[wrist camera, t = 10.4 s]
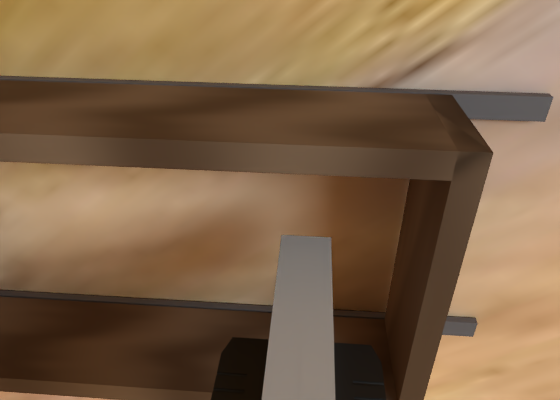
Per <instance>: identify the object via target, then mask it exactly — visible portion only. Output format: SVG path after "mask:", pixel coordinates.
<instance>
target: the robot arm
mask: <svg viewBox="0 0 560 400" xmlns="http://www.w3.org/2000/svg"><path fill="white" fill-rule="evenodd" d="M211 400H386V394H385V387H384V378H383V370H382V363H381V361H380V359H379V358H378V356H377V354H376V352H375V351H374V349H373V347H372V346H371V345H363V344H348V343H334V328H333V289H332V250H331V237H314V236H294V235H281V243H280V252H279V260H278V268H277V276H276V285H275V293H274V301H273V309H272V318H271V326H270V334H269V339H255V338H240V337H232V339H231V340H230V342H229V343H228V344H227V346H226V347H225V348H224V350H223V351H222V353H221V356H220V361H219V365H218V370H217V376H216V379H215V383H214V388H213V392H212V397H211Z"/></svg>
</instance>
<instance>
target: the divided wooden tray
mask: <svg viewBox="0 0 560 400" xmlns="http://www.w3.org/2000/svg"><path fill="white" fill-rule="evenodd" d="M492 155H493V152H492V150H491V149H490V147H489V146H488V145H487V143H486V142H485V140H484V139H483V138H482V136H481V135H480V133H479V132H478V131H477V129H476V128H475V126H474V125H473V124H472V122H471V121H470V119H469V118H468V117H467V115H466V114H465V112H464V111H463V110H462V108H461V107H460V105H459V104H458V103H457V101H456V100H455V98H454V97H453V95H442V94H412V93H381V92H351V91H321V90H291V89H260V88H230V87H200V86H170V85H140V84H109V83H79V82H49V81H19V80H0V161H2V162H26V163H49V164H72V165H95V166H118V167H142V168H165V169H188V170H211V171H234V172H258V173H281V174H304V175H327V176H350V177H373V178H397V179H410V182H409V188H408V193H407V199H406V204H405V210H404V215H403V221H402V226H401V232H400V237H399V242H398V248H397V253H396V259H395V264H394V270H393V275H392V281H391V286H390V292H389V297H388V303H387V308H386V314H385V319H384V320H383V319H367V318H350V317H333V328H334V343H348V344H363V345H371V346H372V347H373V349H374V351H375V352H376V354H377V356H378V358H379V359H380V361H381V363H382V370H383V378H384V387H385V394H386V400H424V396H425V393H426V389H427V386H428V382H429V379H430V375H431V372H432V368H433V364H434V361H435V357H436V354H437V350H438V347H439V343H440V340H441V336H442V333H443V329H444V325H445V322H446V318H447V315H448V311H449V308H450V304H451V301H452V297H453V294H454V290H455V287H456V283H457V279H458V276H459V272H460V269H461V265H462V262H463V258H464V255H465V251H466V248H467V244H468V240H469V237H470V233H471V230H472V226H473V223H474V219H475V216H476V212H477V209H478V205H479V202H480V198H481V194H482V191H483V187H484V184H485V180H486V177H487V173H488V170H489V166H490V163H491V159H492ZM271 318H272V313H266V312H249V311H233V310H216V309H199V308H182V307H166V306H149V305H132V304H115V303H99V302H82V301H65V300H49V299H32V298H15V297H0V391H5V392H19V393H33V394H47V395H61V396H75V397H89V398H103V399H117V400H211V397H212V392H213V388H214V383H215V379H216V376H217V370H218V365H219V361H220V356H221V353H222V351H223V350H224V348H225V347H226V346H227V344H228V343H229V342H230V340H231V339H232V337H240V338H255V339H269V334H270V326H271Z"/></svg>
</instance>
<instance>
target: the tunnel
mask: <svg viewBox="0 0 560 400" xmlns="http://www.w3.org/2000/svg"><path fill="white" fill-rule="evenodd" d="M0 80H19V81H49V82H79V83H109V84H140V85H170V86H200V87H230V88H260V89H291V90H321V91H351V92H381V93H412V94H442V95H453V97H454V98H455V100H456V101H457V103H458V104H459V105H460V107H461V108H462V110H463V111H464V112H465V114H466V115H467V117H468V118H469V119H485V120H513V121H541V122H545V120H546V117H547V114H548V111H549V108H550V105H551V102H552V99H553V97H552V96H551V95H550V94H540V93H510V92H479V91H448V90H418V89H387V88H356V87H326V86H295V85H264V84H234V83H203V82H172V81H141V80H111V79H80V78H49V77H19V76H0ZM0 297H15V298H32V299H49V300H65V301H82V302H99V303H115V304H132V305H149V306H166V307H182V308H199V309H216V310H233V311H249V312H266V313H272V309H273V306H263V305H246V304H229V303H212V302H195V301H178V300H161V299H144V298H128V297H111V296H94V295H77V294H60V293H43V292H26V291H9V290H0ZM385 314H386V313H382V312H365V311H348V310H333V317H350V318H367V319H383V320H384V319H385ZM476 326H477V321H476V318H467V317H450V316H447V318H446V322H445V325H444V329H443V333H442V335H456V336H472V337H473V335H474V332H475V329H476Z"/></svg>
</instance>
